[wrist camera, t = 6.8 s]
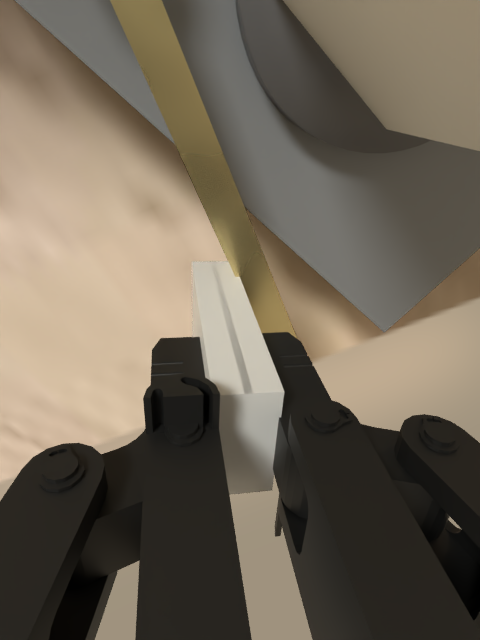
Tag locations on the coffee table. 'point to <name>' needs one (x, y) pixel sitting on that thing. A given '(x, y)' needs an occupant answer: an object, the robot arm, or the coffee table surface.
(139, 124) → the coffee table surface
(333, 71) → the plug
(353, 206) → the socket
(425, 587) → the robot arm
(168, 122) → the tan long thin stick
